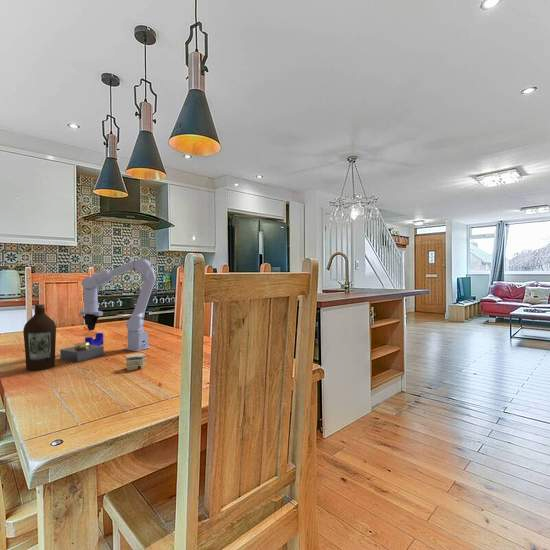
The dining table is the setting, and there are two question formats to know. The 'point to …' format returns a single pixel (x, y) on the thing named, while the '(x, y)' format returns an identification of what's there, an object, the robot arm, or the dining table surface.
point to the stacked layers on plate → (135, 361)
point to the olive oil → (39, 340)
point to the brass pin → (82, 345)
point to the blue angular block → (97, 340)
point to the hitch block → (81, 353)
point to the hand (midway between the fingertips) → (91, 330)
